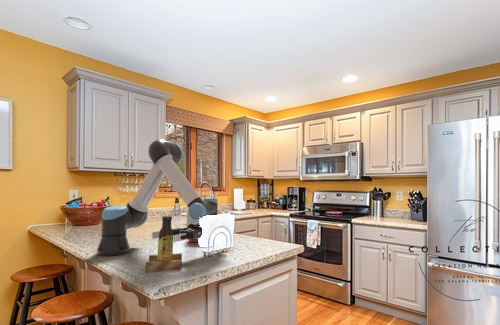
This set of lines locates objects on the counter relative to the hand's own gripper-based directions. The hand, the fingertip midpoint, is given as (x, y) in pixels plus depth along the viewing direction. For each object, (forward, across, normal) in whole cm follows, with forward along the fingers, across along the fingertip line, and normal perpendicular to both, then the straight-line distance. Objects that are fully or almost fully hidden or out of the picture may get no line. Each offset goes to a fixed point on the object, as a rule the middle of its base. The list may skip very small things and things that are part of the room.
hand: (162, 237), depth 121 cm
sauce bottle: (-2, 0, -12) cm, 12 cm away
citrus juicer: (-50, +24, -13) cm, 57 cm away
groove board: (-1, 0, -12) cm, 12 cm away
